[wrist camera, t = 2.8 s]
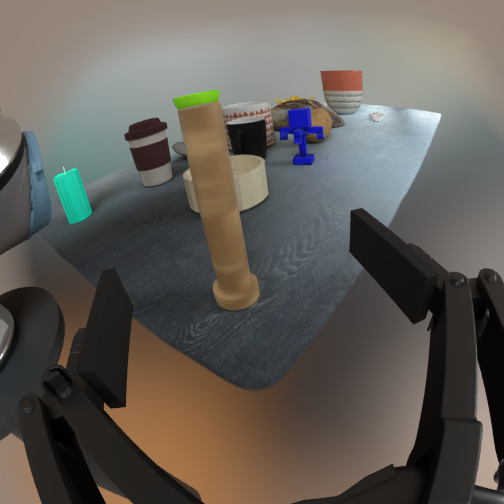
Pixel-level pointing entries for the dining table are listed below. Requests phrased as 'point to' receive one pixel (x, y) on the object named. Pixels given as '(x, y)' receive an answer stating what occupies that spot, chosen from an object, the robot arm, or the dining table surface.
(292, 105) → the bread
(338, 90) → the planter
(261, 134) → the mug
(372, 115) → the white lumpy piece
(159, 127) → the coffee cup
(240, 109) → the white patterned cup
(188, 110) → the wooden pestle
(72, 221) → the candle
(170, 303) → the dining table surface
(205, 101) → the wineglass
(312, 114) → the potato
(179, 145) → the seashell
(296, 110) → the figurine
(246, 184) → the bowl
